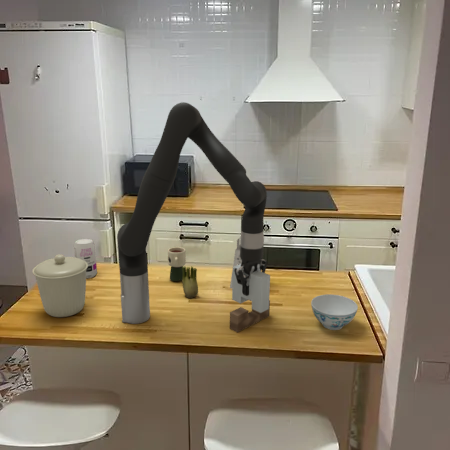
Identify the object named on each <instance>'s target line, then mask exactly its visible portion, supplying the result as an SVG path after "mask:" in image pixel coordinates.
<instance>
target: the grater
mask: <svg viewBox="0 0 450 450" xmlns="http://www.w3.org/2000/svg"><path fill="white" fill-rule="evenodd" d="M241 263H242V260H241V258H240V237H239V238H238V239H237V240H236V248H235V249H234V256H233V264H232V268H233V267H234V266H237V265H240V264H241ZM231 271H232V272H231V276H230V284H229V289H232V276H233V269H232V270H231Z"/></svg>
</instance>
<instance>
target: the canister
mask: <svg viewBox="0 0 450 450" xmlns="http://www.w3.org/2000/svg"><path fill="white" fill-rule="evenodd" d="M87 268H88V263H87V262H86V261H84V260H81V259H79V258H75V256H65V255H64V254H62V253H59V254H56V255H55V256H54V257H52V258H49V259H46V260H42V261H41V262H40V263H38V264H37V265H36V266H34V268H32V269H31V270H32V274H33V275H34V277H35V280H36V285H37V289H38V293H39V296H40V300H41V302H42V303H41V304H42V307H43V310H44V312H46V314H47V315H49V316H51V317H55V318H65V317H71V316H73V315H76V314H78V313H80V312H81V311H82V310H83V308H84V307H85V304H86V303H85V302H86V291H87V290H86V288H87V278H86V269H87Z"/></svg>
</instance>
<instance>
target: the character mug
mask: <svg viewBox="0 0 450 450" xmlns="http://www.w3.org/2000/svg"><path fill="white" fill-rule="evenodd" d="M186 254H187V253H186V248H184V247H183V246H174V247H170V248H168V249H167V264H168V266H170V272H169V280H170V281H171V282H172V281H173V282H179V281H182V279H183V271H182V267H183V266H186V263H187V258H186V256H187V255H186Z"/></svg>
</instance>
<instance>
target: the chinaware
mask: <svg viewBox="0 0 450 450" xmlns="http://www.w3.org/2000/svg"><path fill="white" fill-rule="evenodd" d="M310 305H311V309H312V313H313V315H314V317H315V319H317V320H318V322H319V323H321V325H322V326H323V327H324V328H325V329H327V330H331V331H338V330H341V329H343V327H345V326H347V325H349V323H351V322H352V321H353V320H354V318H355V317H356V314H357V312H358V308H359V307H358V304H357V303H356V302H355V301H354V300H353V299H351V298H349V297H346V296H344V295H339V294H332V293H331V294H327V293H326V294H321V295H317V296H315V297H313V298H312V299H311V302H310Z"/></svg>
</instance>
